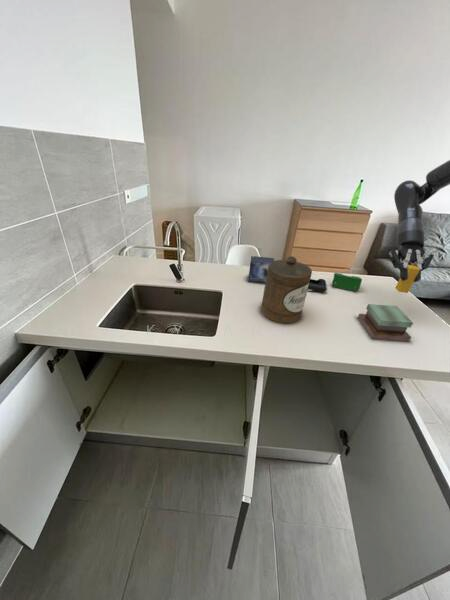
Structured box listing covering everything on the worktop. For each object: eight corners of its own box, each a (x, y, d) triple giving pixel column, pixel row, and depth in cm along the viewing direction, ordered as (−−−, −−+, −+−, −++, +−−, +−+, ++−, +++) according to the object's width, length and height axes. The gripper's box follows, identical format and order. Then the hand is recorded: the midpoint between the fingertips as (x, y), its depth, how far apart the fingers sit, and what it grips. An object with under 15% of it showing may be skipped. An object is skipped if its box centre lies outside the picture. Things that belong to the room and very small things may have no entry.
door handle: (284, 268, 121) (280, 279, 107) (326, 275, 116) (327, 288, 102) (283, 274, 123) (279, 286, 109) (324, 282, 117) (325, 295, 104)
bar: (404, 288, 87) (415, 265, 82) (407, 293, 84) (420, 269, 79) (395, 287, 87) (406, 264, 82) (398, 291, 85) (410, 268, 80)
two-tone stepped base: (389, 320, 90) (397, 304, 87) (408, 341, 80) (418, 324, 77) (357, 317, 91) (363, 302, 87) (371, 338, 81) (379, 322, 77)
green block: (349, 294, 115) (363, 279, 111) (350, 297, 109) (365, 281, 106) (327, 280, 117) (340, 264, 113) (328, 282, 111) (341, 266, 107)
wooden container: (290, 329, 83) (304, 270, 71) (253, 312, 90) (261, 257, 79) (306, 310, 93) (321, 256, 82) (272, 297, 101) (281, 246, 89)
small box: (247, 282, 111) (250, 260, 106) (248, 276, 117) (250, 255, 111) (271, 284, 111) (274, 263, 105) (270, 278, 116) (274, 257, 111)
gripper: (395, 226, 82) (394, 274, 79) (440, 231, 81) (442, 279, 77) (383, 237, 90) (382, 281, 86) (424, 241, 88) (425, 286, 84)
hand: (410, 280), depth 81 cm, fingers closed on bar, 3 cm apart
